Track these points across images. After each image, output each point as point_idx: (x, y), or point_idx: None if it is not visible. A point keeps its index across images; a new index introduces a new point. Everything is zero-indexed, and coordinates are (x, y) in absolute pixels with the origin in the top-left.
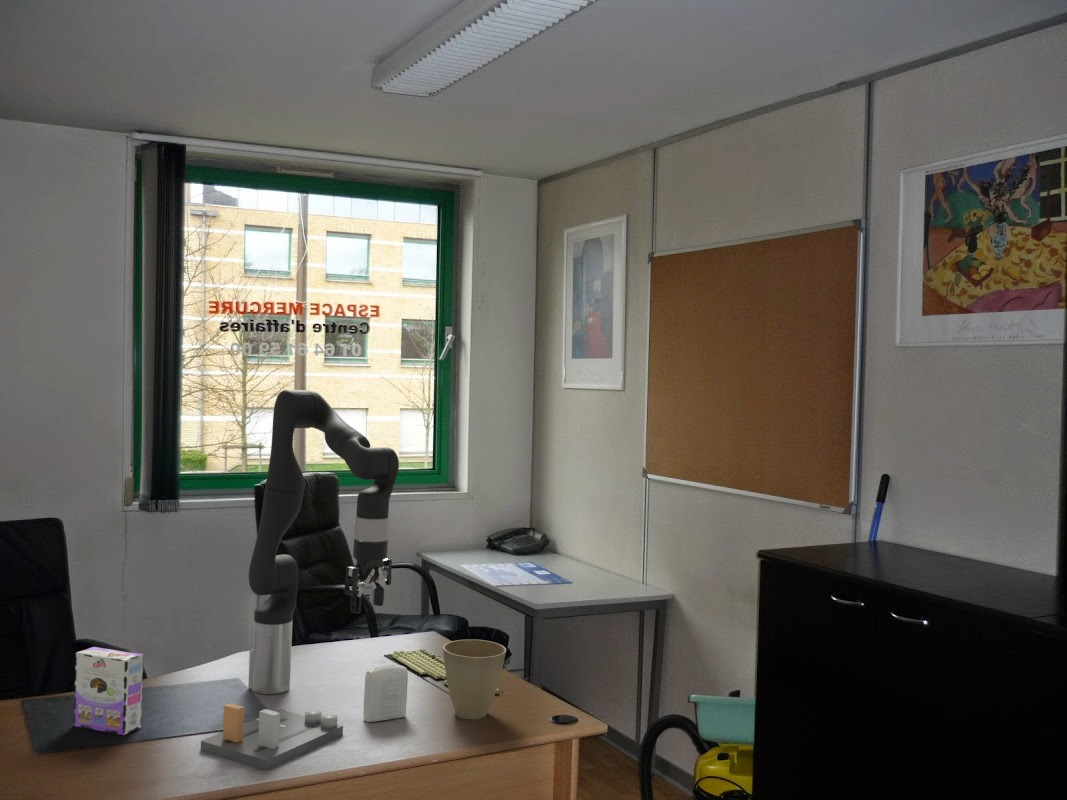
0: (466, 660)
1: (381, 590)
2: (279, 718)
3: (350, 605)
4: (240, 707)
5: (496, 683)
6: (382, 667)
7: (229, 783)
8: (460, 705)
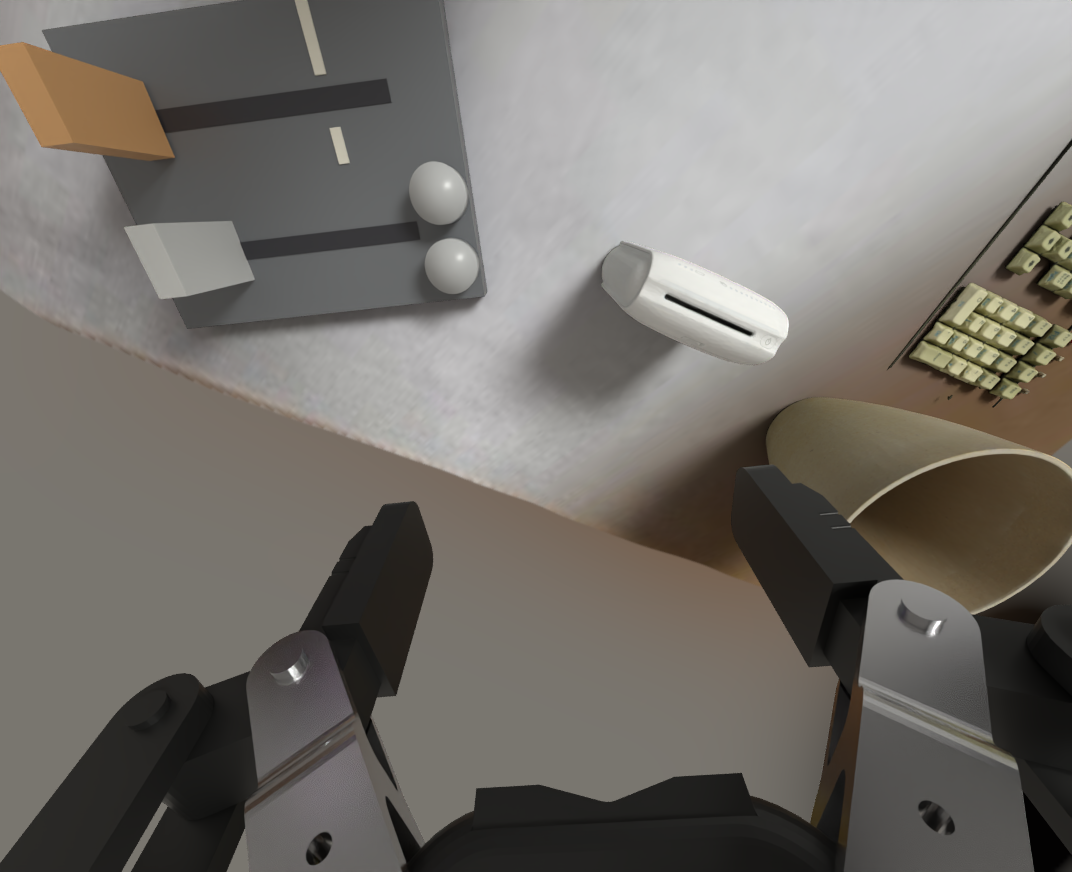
0: None
1: (807, 655)
2: (198, 293)
3: (338, 562)
4: (56, 134)
5: None
6: (689, 321)
7: (99, 319)
8: (770, 454)
